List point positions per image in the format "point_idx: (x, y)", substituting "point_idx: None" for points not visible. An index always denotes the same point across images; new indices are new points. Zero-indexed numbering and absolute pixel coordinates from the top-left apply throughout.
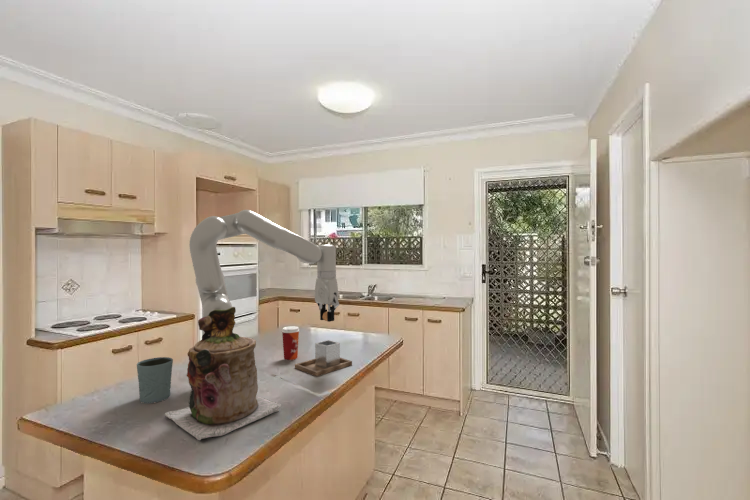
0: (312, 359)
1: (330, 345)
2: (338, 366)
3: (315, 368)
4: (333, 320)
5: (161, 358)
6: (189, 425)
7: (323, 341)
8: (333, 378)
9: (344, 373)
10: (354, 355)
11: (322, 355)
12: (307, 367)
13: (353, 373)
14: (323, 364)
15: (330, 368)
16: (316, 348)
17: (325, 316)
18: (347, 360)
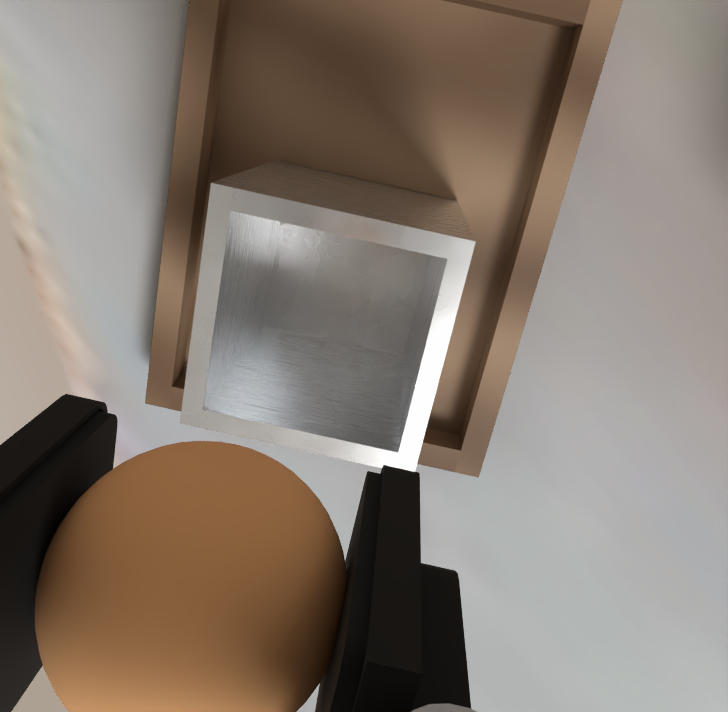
0: (540, 254)
1: (202, 262)
2: (167, 225)
3: (392, 119)
4: None
5: None
6: None
7: (429, 382)
8: (101, 38)
9: (111, 210)
10: None
11: (322, 186)
12: (491, 100)
13: (47, 252)
14: (318, 172)
15: (177, 113)
16: (444, 224)
17: (134, 475)
18: None
